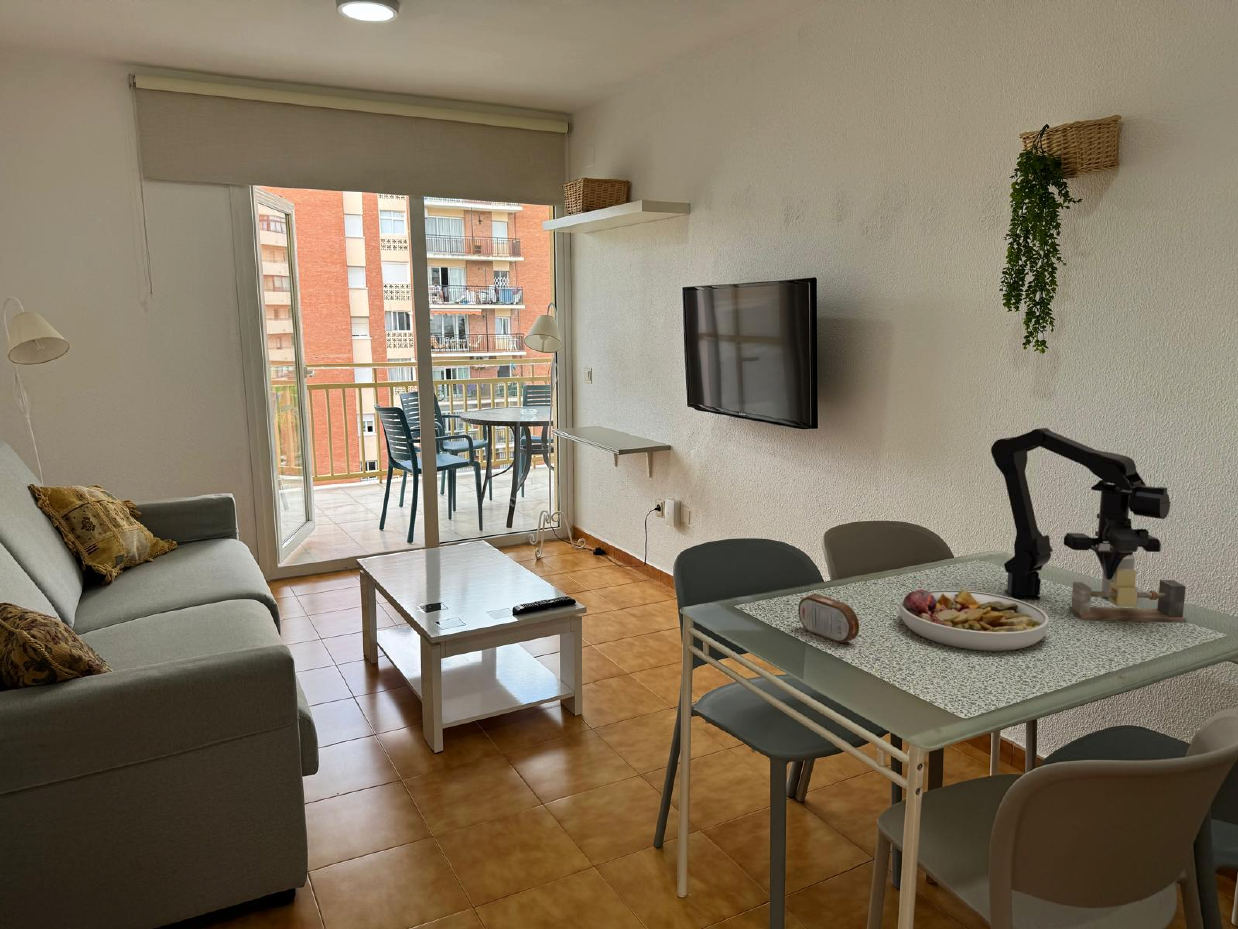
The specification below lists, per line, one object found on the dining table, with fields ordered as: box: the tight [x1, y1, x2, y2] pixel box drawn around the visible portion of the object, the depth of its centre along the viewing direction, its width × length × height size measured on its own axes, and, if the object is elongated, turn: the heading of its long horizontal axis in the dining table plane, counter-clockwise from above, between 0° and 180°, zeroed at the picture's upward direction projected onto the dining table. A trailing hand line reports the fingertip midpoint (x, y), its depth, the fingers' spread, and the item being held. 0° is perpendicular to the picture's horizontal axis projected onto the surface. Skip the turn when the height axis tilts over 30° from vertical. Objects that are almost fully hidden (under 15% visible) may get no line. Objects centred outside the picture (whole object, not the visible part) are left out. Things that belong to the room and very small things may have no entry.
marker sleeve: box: [1108, 569, 1138, 608], centre depth 198 cm, size 4×4×8 cm
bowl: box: [899, 589, 1050, 652], centre depth 189 cm, size 30×30×8 cm
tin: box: [798, 593, 860, 644], centre depth 185 cm, size 15×3×8 cm, turn 35°
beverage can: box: [1101, 553, 1135, 600], centre depth 212 cm, size 6×6×12 cm
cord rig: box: [1068, 579, 1187, 623], centre depth 199 cm, size 22×7×8 cm, turn 85°
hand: (1108, 579), depth 198 cm, fingers closed
